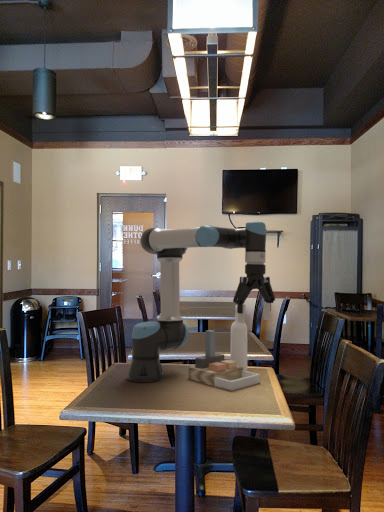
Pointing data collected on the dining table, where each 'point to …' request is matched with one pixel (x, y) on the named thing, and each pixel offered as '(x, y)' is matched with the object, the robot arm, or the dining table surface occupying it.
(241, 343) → the bottle
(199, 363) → the grey post
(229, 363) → the tile
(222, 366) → the tile
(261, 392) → the dining table surface
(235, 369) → the striped wooden block
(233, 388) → the box
